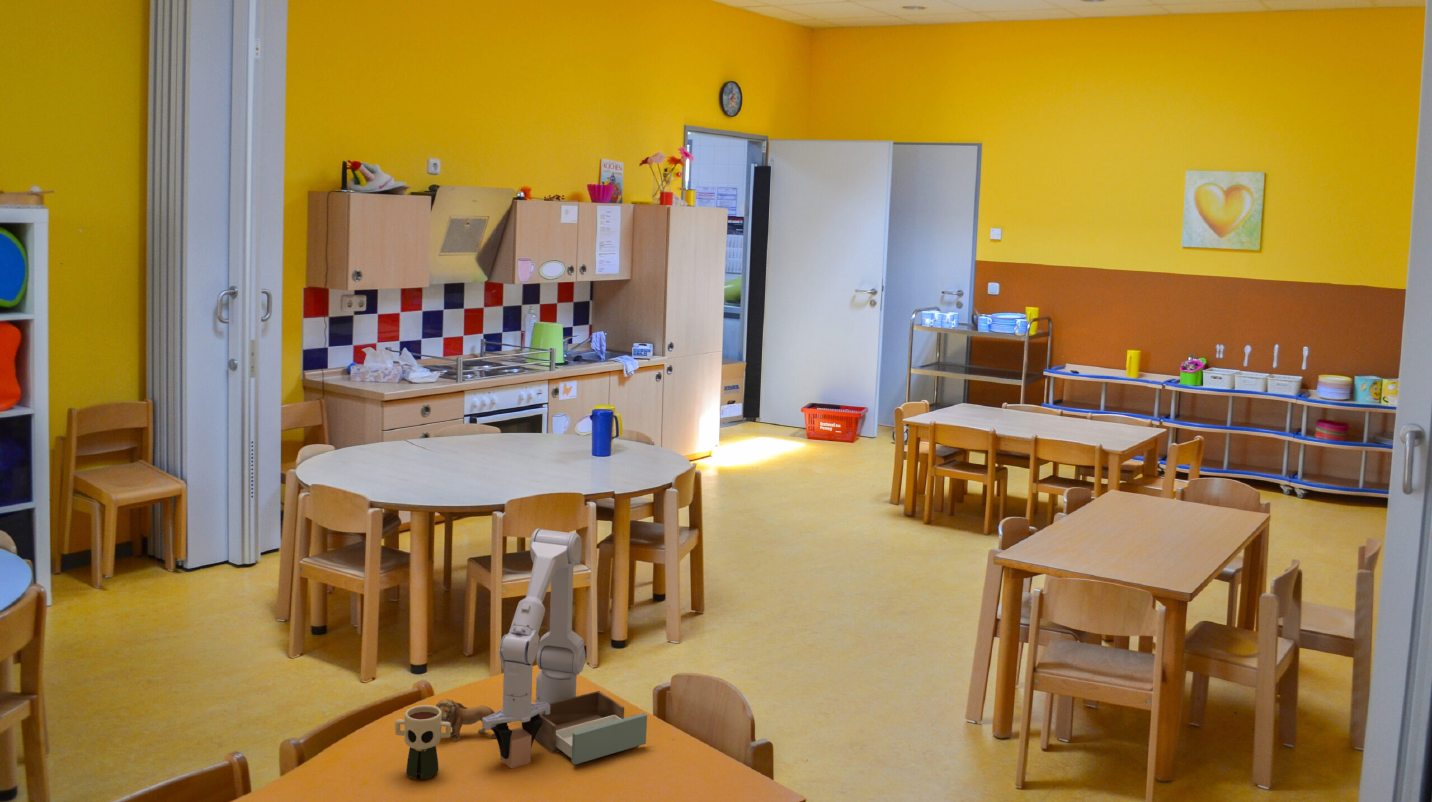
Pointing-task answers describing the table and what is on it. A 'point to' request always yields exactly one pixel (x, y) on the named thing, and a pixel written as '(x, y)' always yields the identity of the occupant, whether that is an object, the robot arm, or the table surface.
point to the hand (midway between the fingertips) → (515, 753)
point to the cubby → (575, 715)
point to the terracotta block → (518, 748)
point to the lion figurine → (462, 715)
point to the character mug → (422, 739)
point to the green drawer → (601, 737)
